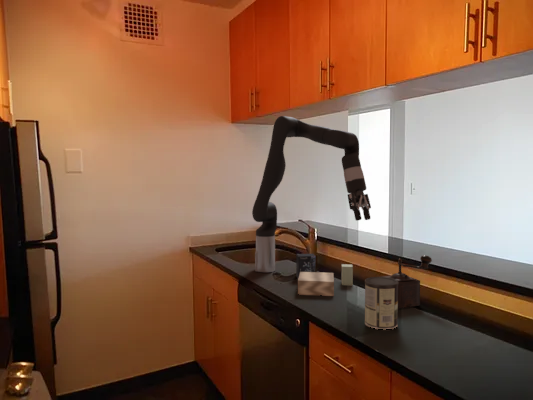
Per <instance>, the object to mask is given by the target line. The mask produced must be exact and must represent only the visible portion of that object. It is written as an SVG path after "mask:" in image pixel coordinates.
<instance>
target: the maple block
mask: <svg viewBox="0 0 533 400" xmlns="http://www.w3.org/2000/svg"><path fill="white" fill-rule="evenodd" d="M334 277H335V276H334V272H324V271H323V272H317V271H315V272H300V274H299V278H297V295H298V294H299V295H298V296H300V295H301V296H320V295H322V296H326V297H334V296H335V280H334V279H335V278H334Z"/></svg>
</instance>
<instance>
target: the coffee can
mask: <svg viewBox="0 0 533 400" xmlns="http://www.w3.org/2000/svg"><path fill="white" fill-rule="evenodd" d="M398 284H399V282H398V281H397V280H395V279H392V278H386V277H382V276H371V277H367V278H365V279H364V285H365V286H364V325H365V326H366V327H368V328H370V327H371V329H373V328H375V330H378V329H383V330H382V331H387V330H386V329H392V330H394V328H395V329H396V327H397V328H398V324H399V323H398V314H399V312H398V310H399V309H398Z"/></svg>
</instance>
